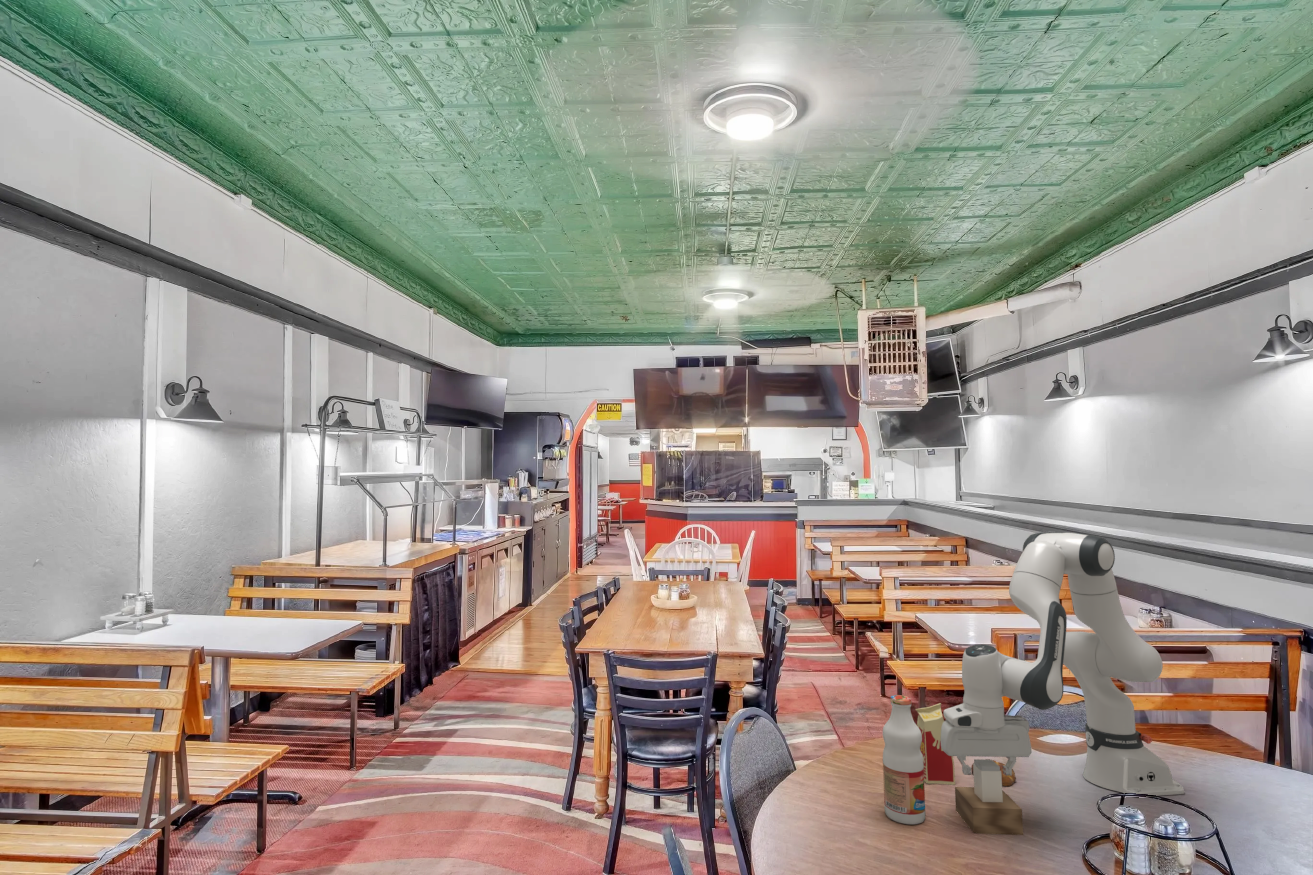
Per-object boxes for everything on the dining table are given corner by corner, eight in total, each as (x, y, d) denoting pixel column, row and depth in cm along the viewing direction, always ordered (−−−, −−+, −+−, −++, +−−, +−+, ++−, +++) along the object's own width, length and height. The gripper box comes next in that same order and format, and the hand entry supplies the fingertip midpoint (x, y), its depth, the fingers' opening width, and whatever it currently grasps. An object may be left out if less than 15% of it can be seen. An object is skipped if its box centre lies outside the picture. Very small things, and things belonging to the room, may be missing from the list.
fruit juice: (883, 804, 165) (880, 690, 168) (923, 809, 162) (919, 693, 165) (885, 822, 156) (881, 701, 159) (927, 828, 153) (922, 705, 156)
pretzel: (1025, 788, 175) (1025, 774, 175) (984, 787, 175) (983, 773, 176) (1004, 769, 187) (1004, 756, 187) (965, 768, 187) (965, 755, 188)
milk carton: (945, 771, 185) (942, 698, 187) (957, 785, 176) (953, 708, 178) (912, 769, 186) (909, 697, 188) (922, 783, 177) (919, 707, 179)
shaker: (993, 793, 159) (992, 759, 159) (1002, 802, 154) (1000, 766, 155) (974, 792, 159) (972, 758, 159) (982, 801, 154) (981, 766, 155)
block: (1001, 813, 161) (1000, 787, 162) (1023, 836, 150) (1022, 809, 151) (955, 811, 162) (954, 786, 162) (974, 834, 151) (972, 807, 151)
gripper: (1021, 711, 161) (1025, 769, 160) (936, 710, 162) (939, 768, 161) (1034, 719, 154) (1038, 780, 153) (946, 718, 156) (949, 779, 155)
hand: (987, 774), depth 157 cm, fingers open, 8 cm apart
